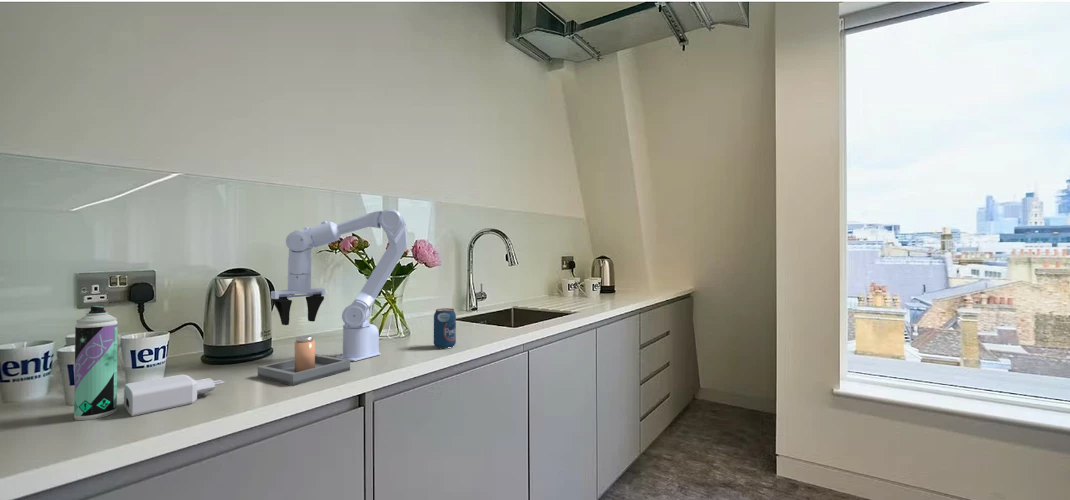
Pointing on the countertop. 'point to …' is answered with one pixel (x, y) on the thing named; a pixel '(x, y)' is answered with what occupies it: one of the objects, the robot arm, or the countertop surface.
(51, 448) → the countertop surface
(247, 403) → the countertop surface
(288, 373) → the tray
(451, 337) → the soda can
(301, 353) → the cylinder
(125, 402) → the charger
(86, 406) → the spray can
